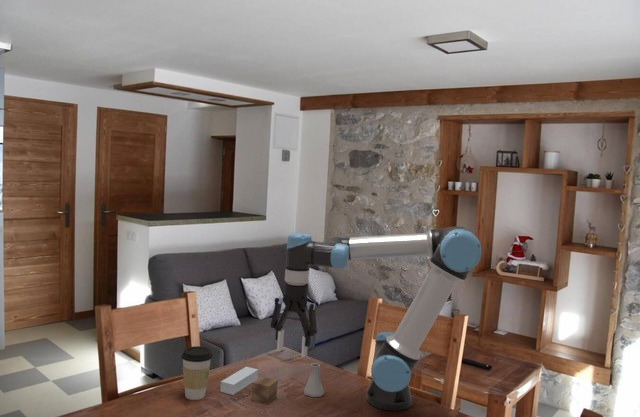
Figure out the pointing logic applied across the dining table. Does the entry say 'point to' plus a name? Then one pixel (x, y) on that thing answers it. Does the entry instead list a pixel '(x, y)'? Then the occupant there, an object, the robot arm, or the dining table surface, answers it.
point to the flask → (314, 383)
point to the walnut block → (264, 390)
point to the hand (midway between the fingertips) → (291, 352)
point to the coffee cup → (196, 371)
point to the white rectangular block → (239, 380)
